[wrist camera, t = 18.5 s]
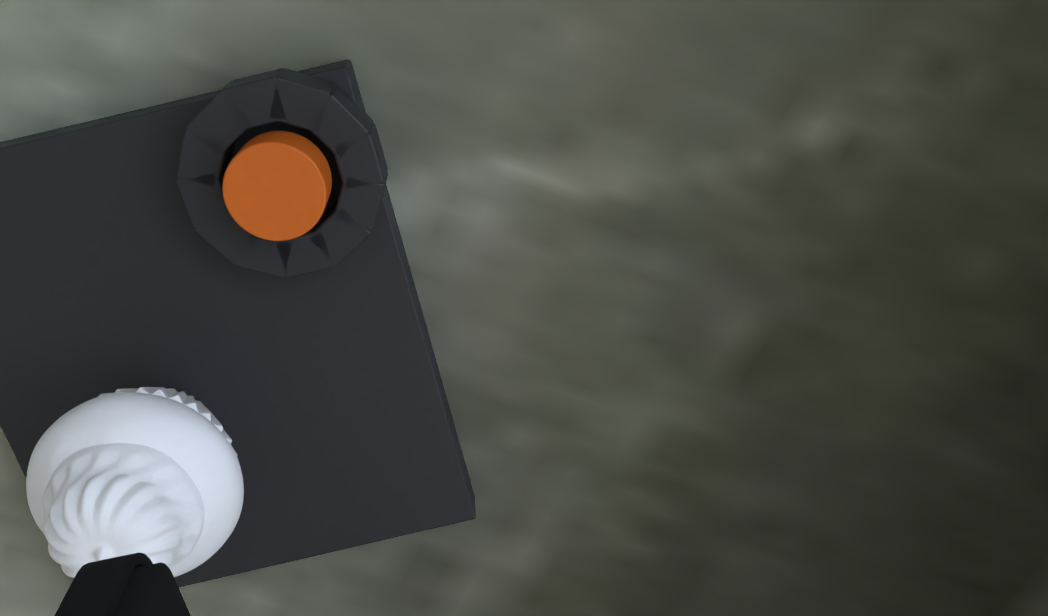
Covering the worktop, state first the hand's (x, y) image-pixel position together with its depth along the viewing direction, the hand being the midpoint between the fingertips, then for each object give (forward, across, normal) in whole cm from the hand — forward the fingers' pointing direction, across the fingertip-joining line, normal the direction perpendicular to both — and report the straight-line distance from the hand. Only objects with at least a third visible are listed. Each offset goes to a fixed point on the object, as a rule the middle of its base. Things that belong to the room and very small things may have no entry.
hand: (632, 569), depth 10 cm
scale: (+22, +11, +6) cm, 26 cm away
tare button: (+20, +7, 0) cm, 21 cm away
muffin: (+21, +13, +8) cm, 26 cm away
